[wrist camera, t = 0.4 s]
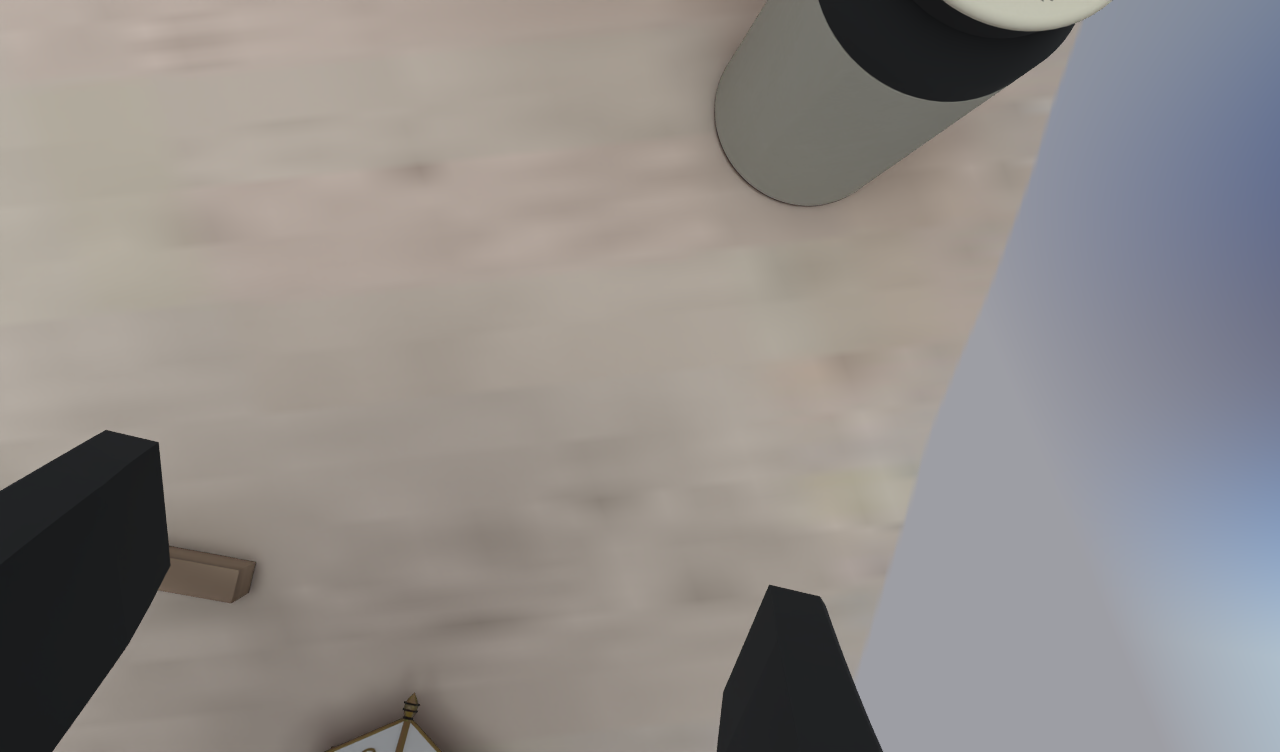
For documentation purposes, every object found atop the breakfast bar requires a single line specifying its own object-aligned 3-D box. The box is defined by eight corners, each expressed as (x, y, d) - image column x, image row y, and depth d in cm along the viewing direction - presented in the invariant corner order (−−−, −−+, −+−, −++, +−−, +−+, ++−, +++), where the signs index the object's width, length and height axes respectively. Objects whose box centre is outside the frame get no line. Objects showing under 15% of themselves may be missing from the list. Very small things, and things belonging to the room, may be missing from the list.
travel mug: (704, 194, 41) (863, 6, 24) (722, 16, 42) (890, -298, 24) (880, 219, 42) (1158, 58, 25) (894, 45, 43) (1176, -233, 25)
